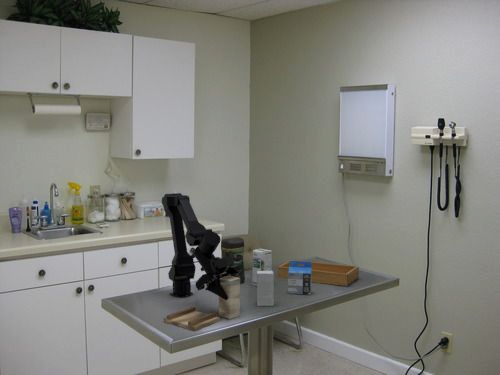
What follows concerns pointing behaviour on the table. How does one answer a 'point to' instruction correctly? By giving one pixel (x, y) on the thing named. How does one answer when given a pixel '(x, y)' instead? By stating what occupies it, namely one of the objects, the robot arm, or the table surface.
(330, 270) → the tray
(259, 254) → the syrup box
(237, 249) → the coffee jar
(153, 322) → the table surface
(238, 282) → the maple block
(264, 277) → the skincare box
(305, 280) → the label tape box
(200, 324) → the slotted oak board
